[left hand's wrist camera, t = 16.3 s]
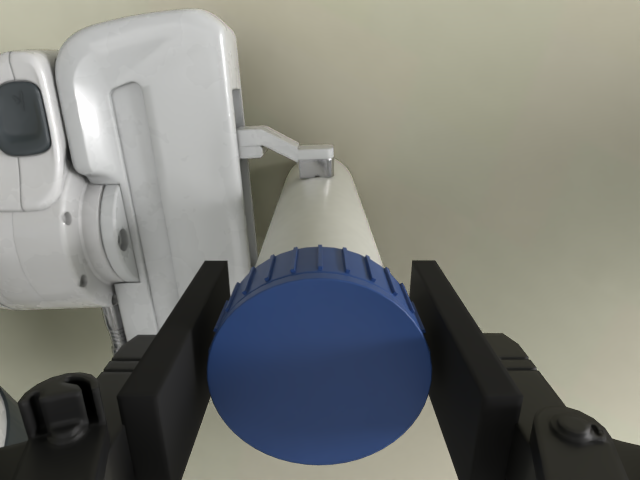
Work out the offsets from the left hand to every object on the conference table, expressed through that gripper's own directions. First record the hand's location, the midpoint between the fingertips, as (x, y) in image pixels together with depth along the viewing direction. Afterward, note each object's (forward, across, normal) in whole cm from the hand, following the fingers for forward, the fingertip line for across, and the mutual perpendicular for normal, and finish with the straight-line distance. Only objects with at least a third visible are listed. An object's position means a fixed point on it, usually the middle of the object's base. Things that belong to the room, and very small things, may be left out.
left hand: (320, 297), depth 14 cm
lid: (-4, 0, 0) cm, 4 cm away
